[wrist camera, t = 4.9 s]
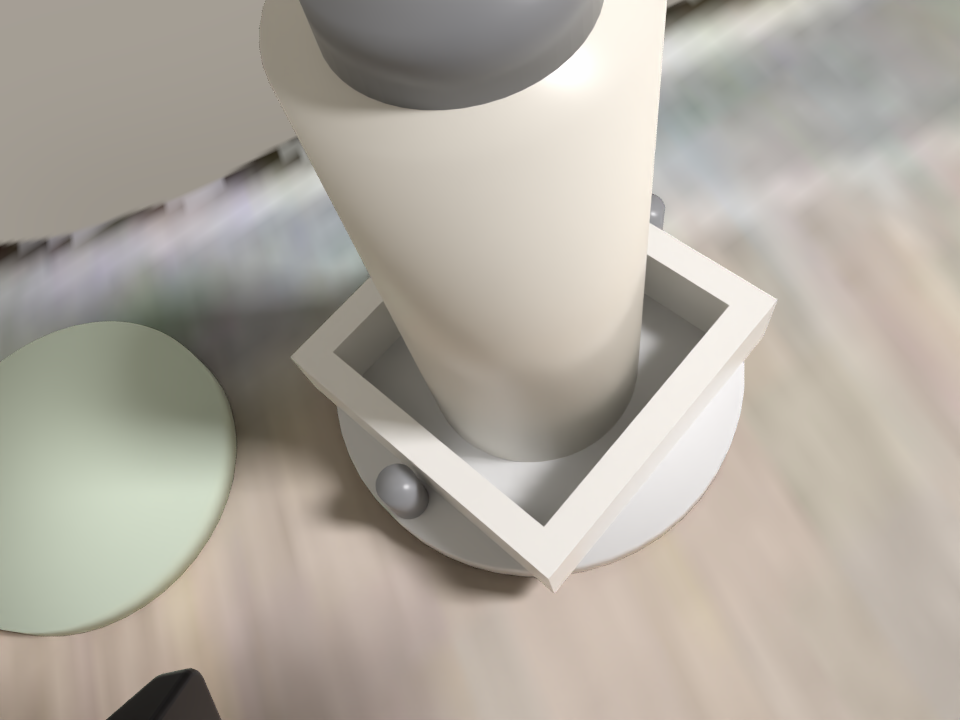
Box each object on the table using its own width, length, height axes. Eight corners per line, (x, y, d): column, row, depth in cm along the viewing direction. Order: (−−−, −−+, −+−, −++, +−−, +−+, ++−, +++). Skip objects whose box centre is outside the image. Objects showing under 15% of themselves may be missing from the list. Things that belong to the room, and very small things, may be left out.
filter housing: (821, 345, 22) (851, 290, 19) (563, 672, 19) (556, 663, 16) (515, 158, 26) (504, 92, 23) (270, 407, 23) (226, 364, 21)
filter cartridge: (681, 346, 21) (771, -144, 9) (546, 506, 20) (453, 173, 8) (521, 240, 23) (430, -269, 11) (389, 378, 22) (135, -32, 10)
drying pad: (299, 452, 23) (286, 440, 22) (50, 712, 21) (25, 711, 20) (119, 286, 26) (101, 270, 25) (-110, 494, 24) (-138, 485, 23)
